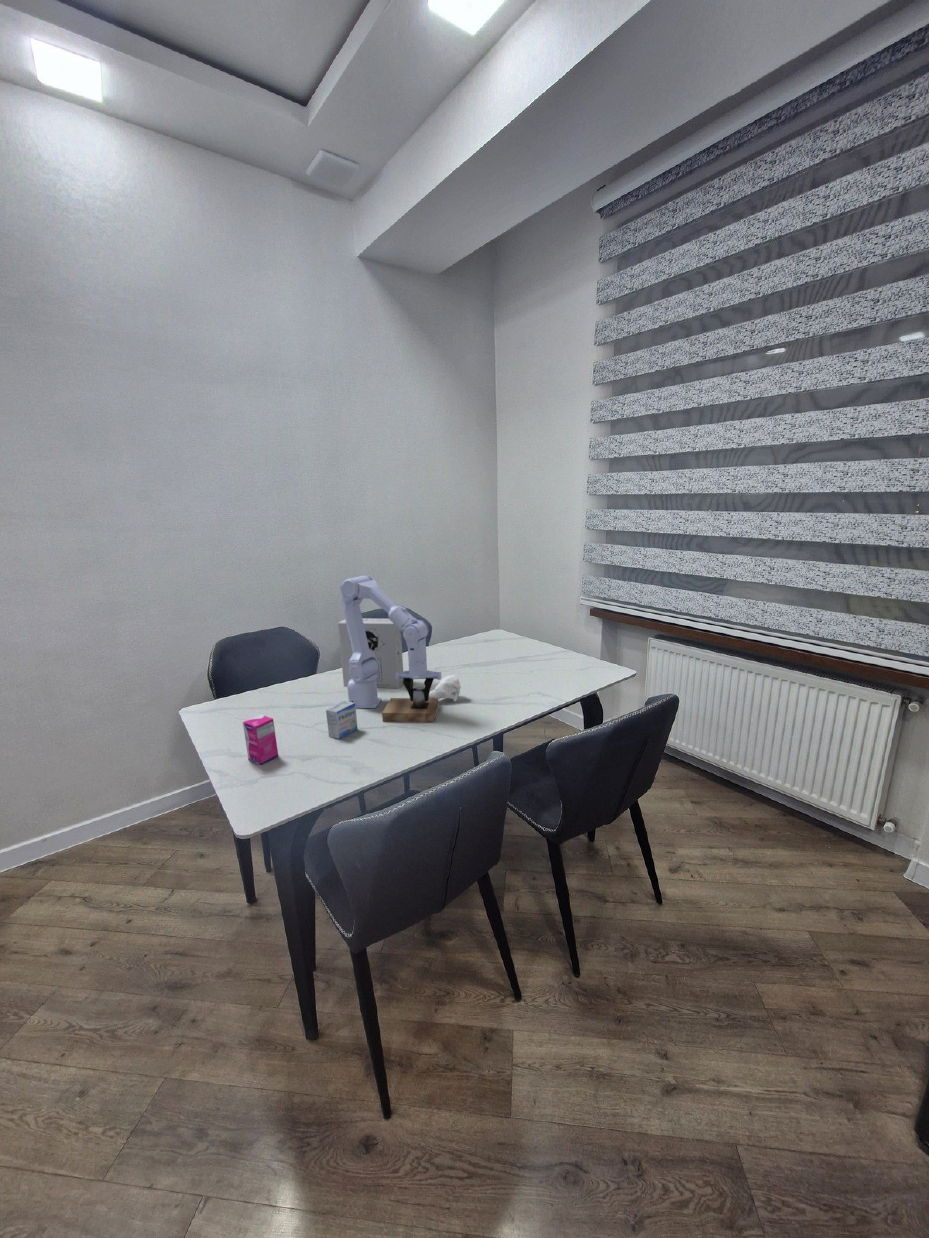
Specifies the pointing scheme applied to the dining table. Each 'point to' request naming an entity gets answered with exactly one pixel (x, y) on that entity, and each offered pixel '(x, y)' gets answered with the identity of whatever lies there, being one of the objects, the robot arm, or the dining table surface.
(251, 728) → the supplement box
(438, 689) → the white lumpy piece
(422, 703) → the grey dome knob
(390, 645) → the cereal box
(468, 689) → the dining table surface
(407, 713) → the jig
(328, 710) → the medicine box
